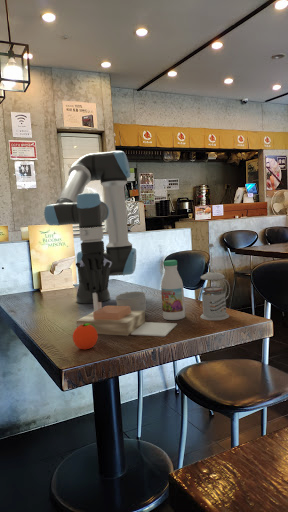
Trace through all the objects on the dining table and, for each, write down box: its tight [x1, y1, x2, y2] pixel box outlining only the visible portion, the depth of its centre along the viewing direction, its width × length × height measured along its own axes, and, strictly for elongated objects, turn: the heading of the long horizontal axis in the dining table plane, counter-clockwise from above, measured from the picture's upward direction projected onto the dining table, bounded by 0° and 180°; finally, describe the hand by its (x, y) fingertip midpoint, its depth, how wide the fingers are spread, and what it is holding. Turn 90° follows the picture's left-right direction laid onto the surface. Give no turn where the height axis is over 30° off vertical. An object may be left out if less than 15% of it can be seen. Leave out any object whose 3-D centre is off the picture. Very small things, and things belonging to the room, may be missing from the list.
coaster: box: [92, 305, 131, 320], centre depth 122 cm, size 9×9×2 cm
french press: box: [199, 243, 231, 321], centre depth 126 cm, size 10×12×25 cm
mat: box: [130, 321, 178, 337], centre depth 117 cm, size 12×11×1 cm
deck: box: [75, 310, 146, 336], centre depth 122 cm, size 14×18×4 cm
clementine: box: [72, 323, 99, 350], centre depth 104 cm, size 8×7×7 cm
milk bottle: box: [160, 259, 186, 321], centre depth 128 cm, size 8×8×20 cm
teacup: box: [115, 291, 147, 311], centre depth 137 cm, size 14×11×8 cm
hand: (98, 311), depth 123 cm, fingers closed
